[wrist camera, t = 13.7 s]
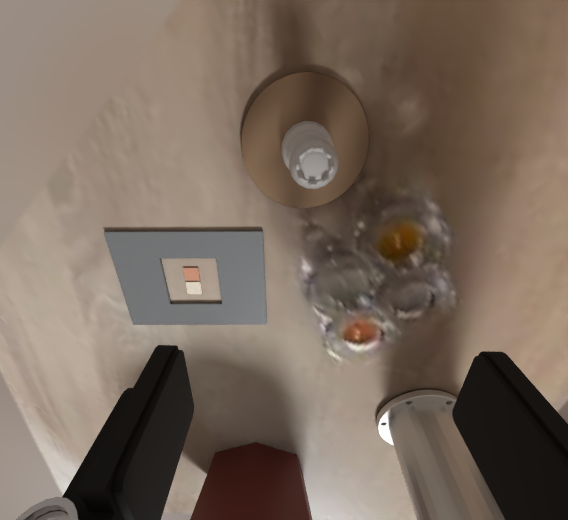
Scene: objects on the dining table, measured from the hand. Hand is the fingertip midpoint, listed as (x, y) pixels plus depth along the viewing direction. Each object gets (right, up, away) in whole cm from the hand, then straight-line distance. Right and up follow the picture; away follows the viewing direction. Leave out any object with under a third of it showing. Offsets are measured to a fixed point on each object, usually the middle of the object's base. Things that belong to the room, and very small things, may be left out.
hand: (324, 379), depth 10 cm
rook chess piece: (+1, +14, +16) cm, 21 cm away
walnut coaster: (0, +14, +16) cm, 22 cm away
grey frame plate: (-11, +2, +23) cm, 26 cm away
